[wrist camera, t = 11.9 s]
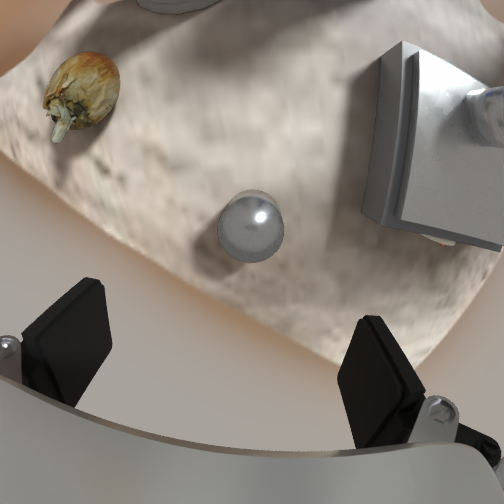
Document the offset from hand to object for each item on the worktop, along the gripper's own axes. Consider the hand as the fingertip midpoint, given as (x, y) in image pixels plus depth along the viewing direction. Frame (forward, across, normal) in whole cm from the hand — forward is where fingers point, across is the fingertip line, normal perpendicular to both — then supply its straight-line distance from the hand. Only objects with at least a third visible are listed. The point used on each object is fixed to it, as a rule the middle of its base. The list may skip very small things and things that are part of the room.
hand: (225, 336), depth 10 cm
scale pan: (+12, -18, -10) cm, 24 cm away
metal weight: (+11, -18, -14) cm, 26 cm away
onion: (+18, +16, -12) cm, 27 cm away
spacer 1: (+18, 0, 0) cm, 18 cm away
